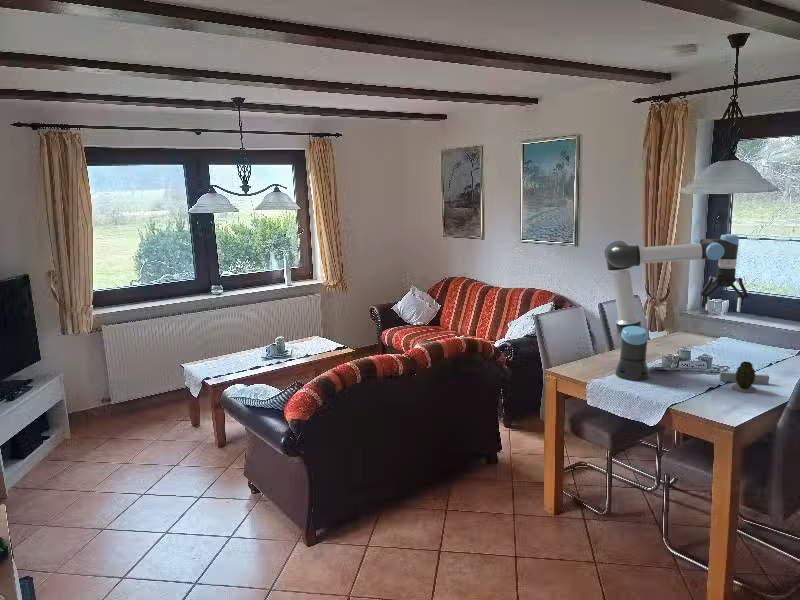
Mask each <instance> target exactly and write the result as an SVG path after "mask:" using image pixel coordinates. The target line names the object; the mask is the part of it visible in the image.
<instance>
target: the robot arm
mask: <svg viewBox="0 0 800 600" xmlns="http://www.w3.org/2000/svg"><path fill="white" fill-rule="evenodd" d="M739 241H740V239H739V236H738V235H737V234H721V235H720V238H695V239H693V240H692V242H691V243H685V244H684V243H683V244H671V245H655V246H644V247H643V246H640V245H629V244H627V243H626V242H625V241H622V240H614V241H611V242H609V243H608V244H607V245H606V247H605V250H604V257H605V260H606V265H607V271H608V272H610V273H611V277H612V283H613V291H614V297H615V304H616V305H615V306H616V310H617V317H618V318H617V320H616V321H615V326H616V336H617V339H618V342H619V344H620V357H619V361H618V363H617V365H616V367H615V372H614V373H615V375H616V376H617V378H618V377H619V378H621V379H625V380H629V381H645V380H647V379H649V377H650V372H649V369H648V365H647V352H648V351H647V350H648V348H647V347H648V340H649V335H648V330H646V329H645V328H643V327H642V322H641V321H642V320H641V318H639V317H638V316H637V311H636V303H635V298H634V289H633V283H632V282H633V281H632V275H631V270H632V268H633V267H640V266H641V265H642V264H653V263H655V264H656V263H668V262H669V263H670V262H681V261H682V262H683V261H684V262H685V261H694V260H695V261H696V260H712V261H717V260H718V263H717V266H718V268H717V272H716V277H714V276H713V277H712V276H709V277H708V281H707V283H706V284H705V286H704V287H703V289H702V290H701V291H700V293H699V294H700V296H701V297H703V303H704V304H705V310H706V312H709V306H710V297H709V296H710V295H711V294H713V292H714V291H716V290H717V289H718V288H719V287H722V288H730V287H731V288H732V289H733V290H734V291H735V293H736V294H737V295H738V296H739V297H737V305H736V312H737V313H740V312H741V306H743V305H744V300H745V299H747V298H749V297H750V296H749V294H748V292H747V290H746V287H745V285H744V283H743V278H742V277H736V272H737V271H736V270H737V269H736V267H737V258H738V251H739ZM715 281H716V283H715V284H714V285H713V286H712V287H711V285H712V283H713V282H715ZM735 282H736V283H738V284H739V287H740V289H741V292H740V291H739V289H738V288H737V287H736V286H735ZM710 287H711V288H710ZM709 288H710V289H709ZM708 289H709V290H708ZM742 293H743V294H742Z"/></svg>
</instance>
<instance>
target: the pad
mask: <svg viewBox="0 0 800 600" xmlns="http://www.w3.org/2000/svg"><path fill="white" fill-rule="evenodd" d="M731 390H733V391H736V392H738V393H742V394H743V393H744V394H755V393H757V392H758V389H757V387H755V386H751V387H749V388H747V389H743V388H741V387H740V386H739V385H738V384H737V383H734V384H732V385H731Z"/></svg>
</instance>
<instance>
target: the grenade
mask: <svg viewBox="0 0 800 600" xmlns="http://www.w3.org/2000/svg"><path fill="white" fill-rule="evenodd" d="M755 372H756V371H755V368H754V366H753V364H752V362H750V361H742V362H741V363H740V366H738V367H737V369H736V371H735V373H736V375H737V376H736V377H735V378H736V381H738V382H736V384H738V385H739V386H740V387H741V388H743V389H747V388H749V387H751V386H752V385H753V384H755V383H754V381H755V379H754V378H755V374H756V373H755Z"/></svg>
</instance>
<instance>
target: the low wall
mask: <svg viewBox="0 0 800 600" xmlns="http://www.w3.org/2000/svg"><path fill="white" fill-rule="evenodd" d="M736 376H737V375H736V372H730V371H720V372H719V379H718V380H719V381H720V382H730V383H731V382H733V383H737V382H738V381H736V378H735V377H736ZM754 379H755V381H754V383H753V384H760V385H769V381H770V375H769V374H759V373H758V374H756V373H755V378H754Z"/></svg>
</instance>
